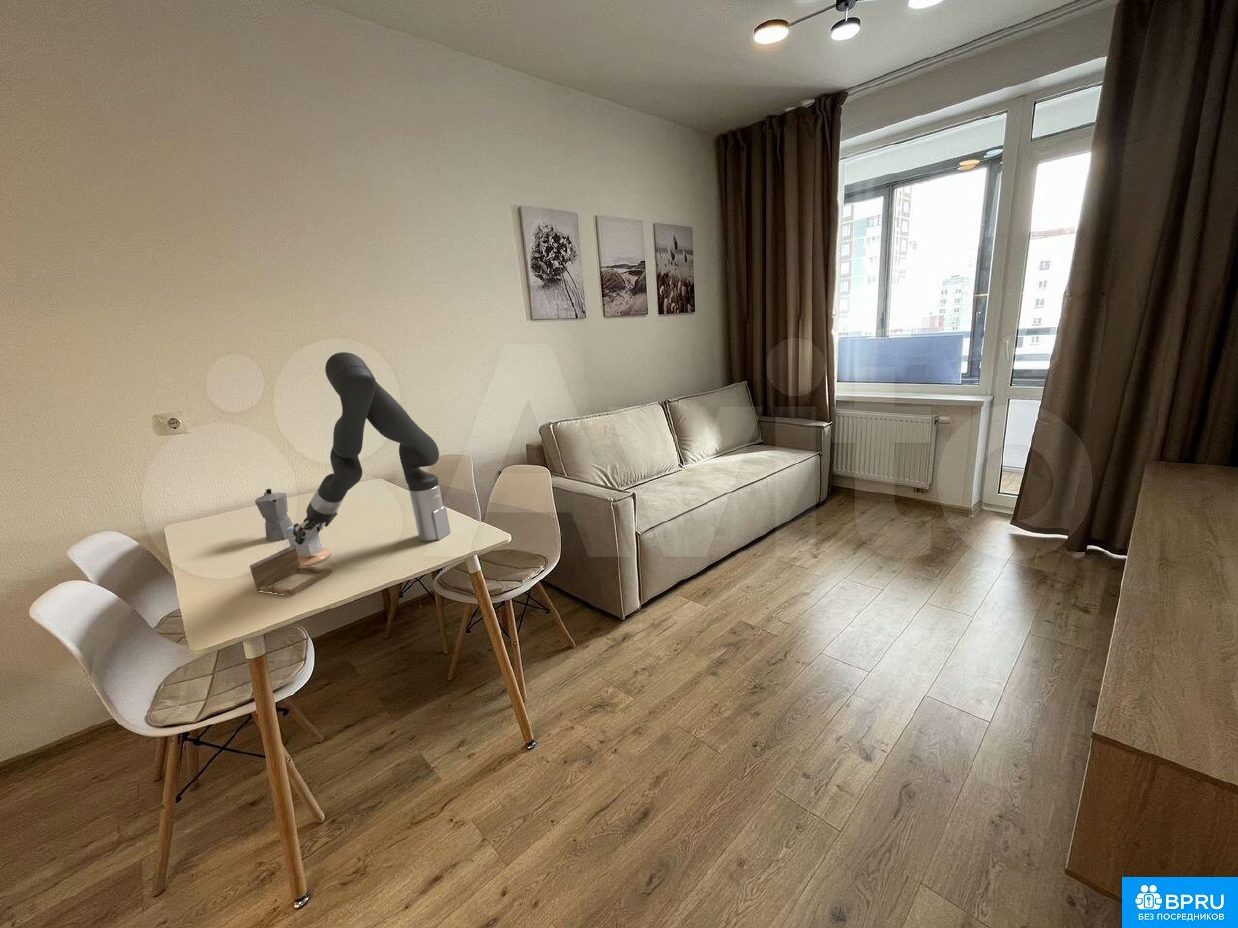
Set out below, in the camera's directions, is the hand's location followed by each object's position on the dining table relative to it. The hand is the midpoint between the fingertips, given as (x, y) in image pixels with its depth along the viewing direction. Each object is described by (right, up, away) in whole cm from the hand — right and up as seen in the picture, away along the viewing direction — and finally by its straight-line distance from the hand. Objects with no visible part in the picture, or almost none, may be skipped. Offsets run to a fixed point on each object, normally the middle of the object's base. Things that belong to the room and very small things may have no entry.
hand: (305, 538), depth 157 cm
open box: (+5, -10, -13) cm, 17 cm away
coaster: (0, -7, +2) cm, 7 cm away
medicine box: (0, -5, +2) cm, 5 cm away
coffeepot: (-24, -3, +25) cm, 35 cm away
